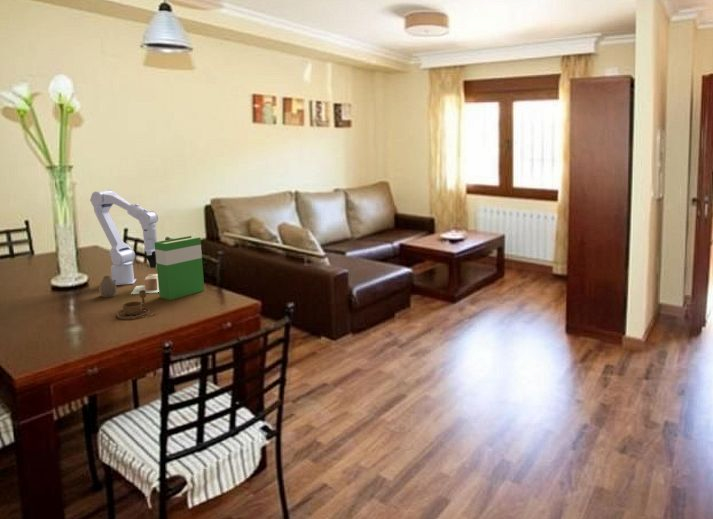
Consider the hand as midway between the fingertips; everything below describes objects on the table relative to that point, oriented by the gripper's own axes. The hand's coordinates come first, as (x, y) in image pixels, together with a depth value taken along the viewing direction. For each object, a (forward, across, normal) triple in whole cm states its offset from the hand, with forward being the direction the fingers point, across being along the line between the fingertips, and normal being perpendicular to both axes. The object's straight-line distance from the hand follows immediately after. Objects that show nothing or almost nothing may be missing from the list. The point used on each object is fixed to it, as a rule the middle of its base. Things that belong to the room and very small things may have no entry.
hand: (153, 267), depth 252 cm
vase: (+9, -14, +17) cm, 24 cm away
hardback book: (+9, -18, -14) cm, 24 cm away
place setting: (+9, -40, 0) cm, 41 cm away
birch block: (+6, 0, 0) cm, 6 cm away
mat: (+8, -8, 0) cm, 11 cm away
